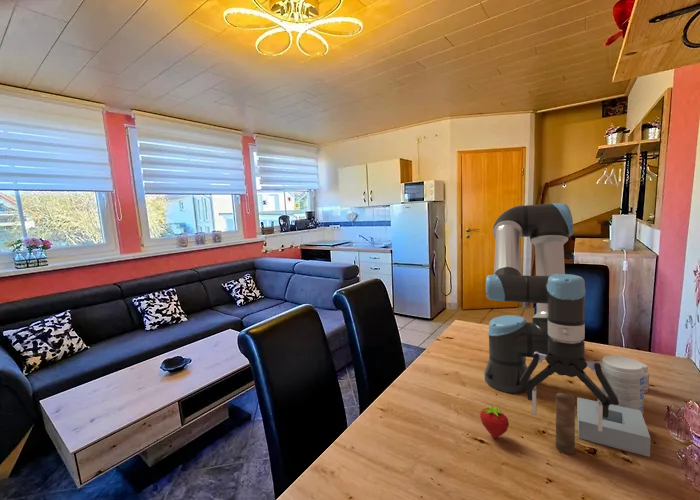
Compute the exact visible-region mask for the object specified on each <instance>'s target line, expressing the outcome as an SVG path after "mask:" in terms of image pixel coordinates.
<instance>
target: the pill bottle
mask: <svg viewBox="0 0 700 500" xmlns="http://www.w3.org/2000/svg"><path fill="white" fill-rule="evenodd" d="M640 363H641V364H642V365H643V369H644V394H645V393H648V392H649V384H650V372H649V366H648V365H647V364H646V363H643V362H640Z"/></svg>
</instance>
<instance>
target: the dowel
mask: <svg viewBox="0 0 700 500" xmlns="http://www.w3.org/2000/svg"><path fill="white" fill-rule="evenodd" d="M575 426H576V398H575V396H574V395H572V394H570V393H567V392H557V393H556V394H555V448H556V449H557V451H559V452H560V453H562V454H564V455H568V456H569V455H573V454H575V451H576V447H575V446H576V444H575V443H576V436H575V435H576V427H575Z"/></svg>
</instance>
